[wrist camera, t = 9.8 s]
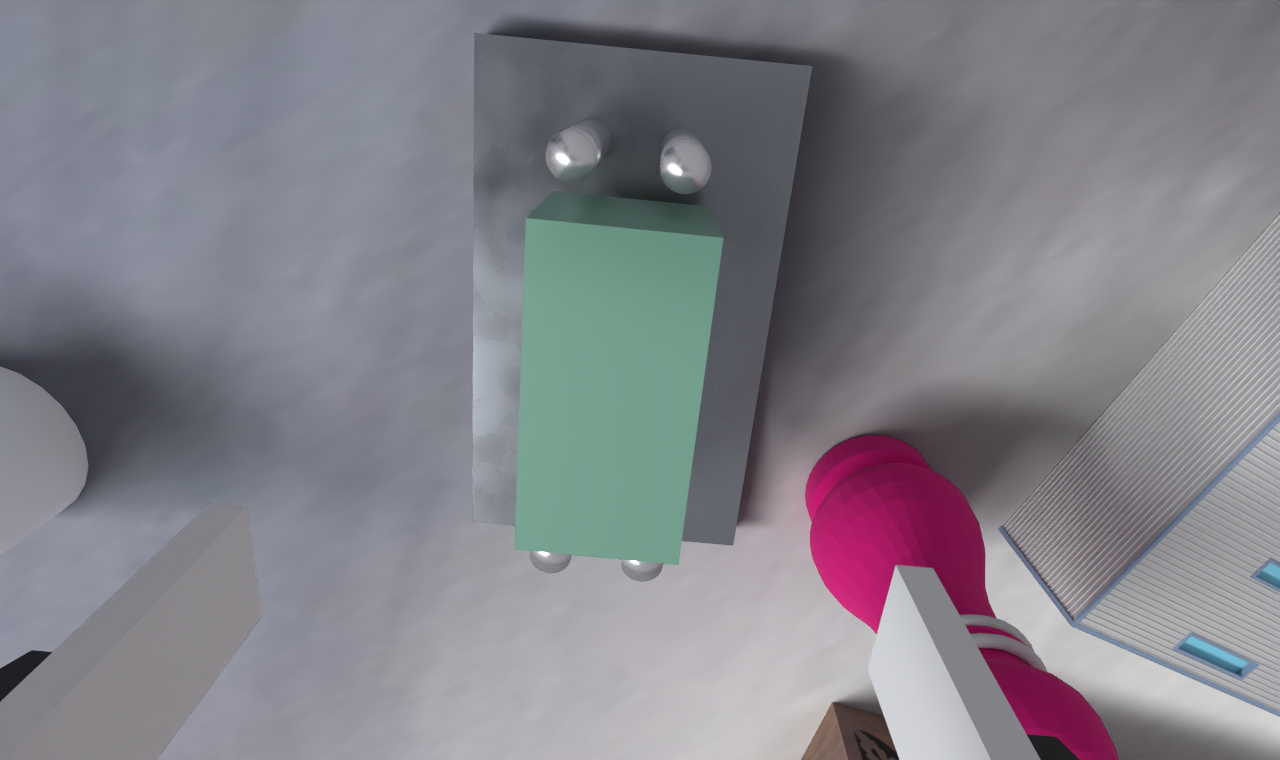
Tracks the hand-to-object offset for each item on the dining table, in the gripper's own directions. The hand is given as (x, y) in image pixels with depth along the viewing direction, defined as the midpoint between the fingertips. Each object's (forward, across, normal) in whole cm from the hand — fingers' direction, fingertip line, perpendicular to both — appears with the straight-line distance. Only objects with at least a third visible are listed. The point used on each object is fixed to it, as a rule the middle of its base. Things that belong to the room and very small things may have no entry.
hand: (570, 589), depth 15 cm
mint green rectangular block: (+16, 0, 0) cm, 16 cm away
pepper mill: (+20, +13, -8) cm, 25 cm away
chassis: (+20, 0, 0) cm, 20 cm away
